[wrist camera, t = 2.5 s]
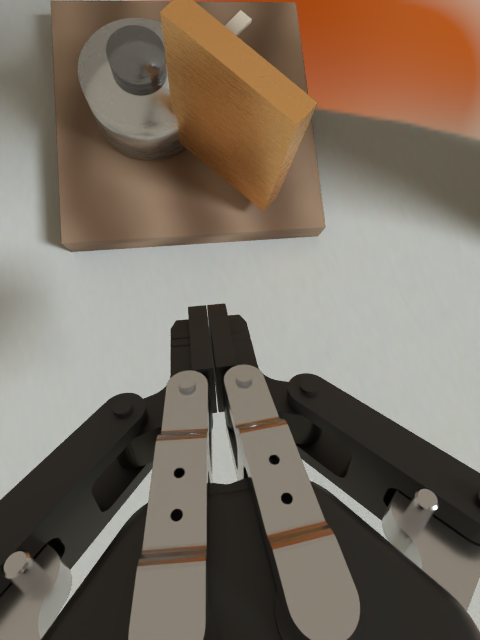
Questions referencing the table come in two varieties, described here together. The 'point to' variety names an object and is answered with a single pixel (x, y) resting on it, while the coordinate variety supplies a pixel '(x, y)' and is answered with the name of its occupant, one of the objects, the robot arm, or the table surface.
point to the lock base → (180, 169)
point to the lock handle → (195, 98)
